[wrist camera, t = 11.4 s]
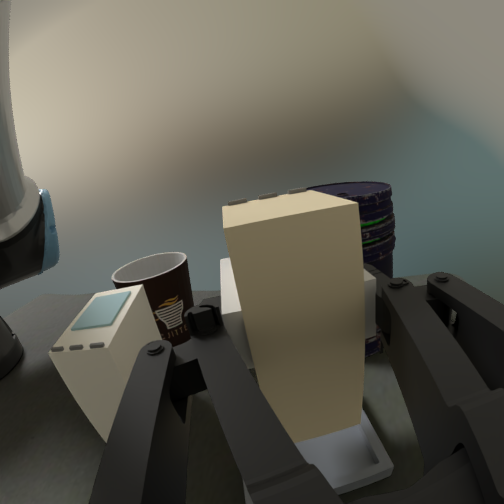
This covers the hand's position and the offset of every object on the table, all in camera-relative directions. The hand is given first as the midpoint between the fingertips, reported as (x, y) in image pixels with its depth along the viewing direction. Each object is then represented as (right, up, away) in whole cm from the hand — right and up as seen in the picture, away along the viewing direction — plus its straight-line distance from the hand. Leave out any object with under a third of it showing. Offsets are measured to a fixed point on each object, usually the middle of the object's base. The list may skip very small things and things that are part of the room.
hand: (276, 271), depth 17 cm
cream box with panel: (-10, -13, +4) cm, 17 cm away
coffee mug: (-12, -10, +17) cm, 23 cm away
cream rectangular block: (+2, -7, -2) cm, 8 cm away
